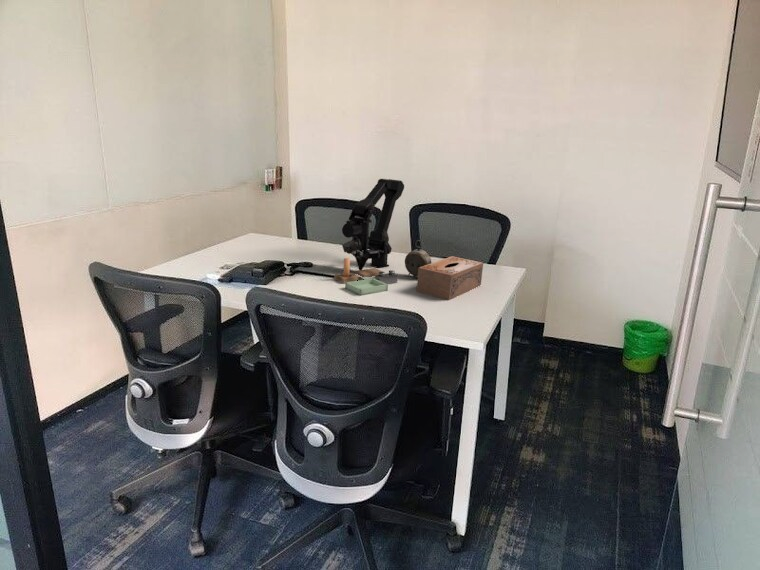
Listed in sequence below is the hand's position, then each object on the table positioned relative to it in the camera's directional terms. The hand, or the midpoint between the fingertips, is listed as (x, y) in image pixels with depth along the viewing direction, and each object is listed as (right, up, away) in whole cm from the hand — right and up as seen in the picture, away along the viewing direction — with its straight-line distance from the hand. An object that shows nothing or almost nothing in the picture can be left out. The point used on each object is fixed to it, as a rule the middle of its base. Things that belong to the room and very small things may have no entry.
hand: (360, 270), depth 242 cm
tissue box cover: (+36, -8, -16) cm, 40 cm away
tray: (+3, -8, -22) cm, 24 cm away
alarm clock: (+24, -4, -4) cm, 24 cm away
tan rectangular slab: (+4, -3, -4) cm, 7 cm away
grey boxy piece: (+11, -6, -13) cm, 18 cm away
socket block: (-5, -4, -12) cm, 14 cm away
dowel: (-5, -4, -12) cm, 14 cm away
